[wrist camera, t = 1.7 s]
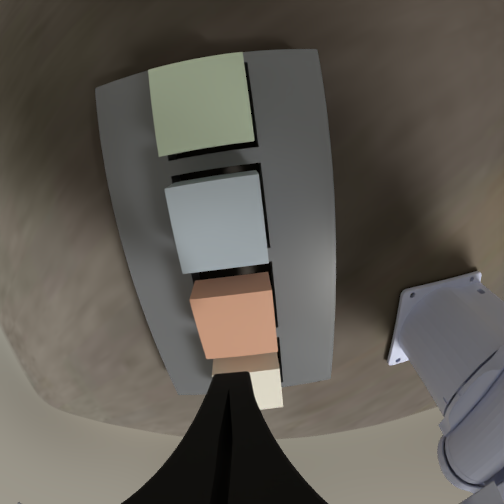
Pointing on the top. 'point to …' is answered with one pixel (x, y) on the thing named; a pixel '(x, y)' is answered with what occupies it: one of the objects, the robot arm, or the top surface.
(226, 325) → the key terracotta
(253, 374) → the key ivory
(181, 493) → the robot arm
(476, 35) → the top surface
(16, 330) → the top surface
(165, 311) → the grey slotted tray
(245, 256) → the key slate
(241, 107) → the key sage
